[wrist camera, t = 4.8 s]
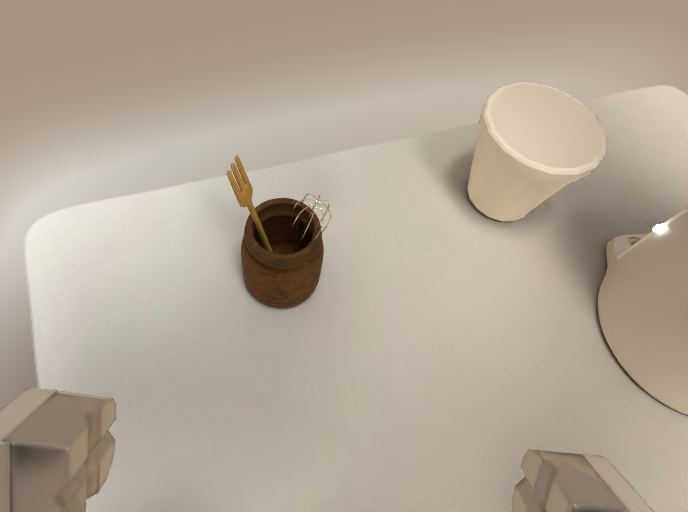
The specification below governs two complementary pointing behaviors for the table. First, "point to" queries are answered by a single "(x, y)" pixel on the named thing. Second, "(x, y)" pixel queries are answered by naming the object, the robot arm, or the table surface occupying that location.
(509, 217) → the cup
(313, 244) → the utensil holder
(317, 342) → the table surface
